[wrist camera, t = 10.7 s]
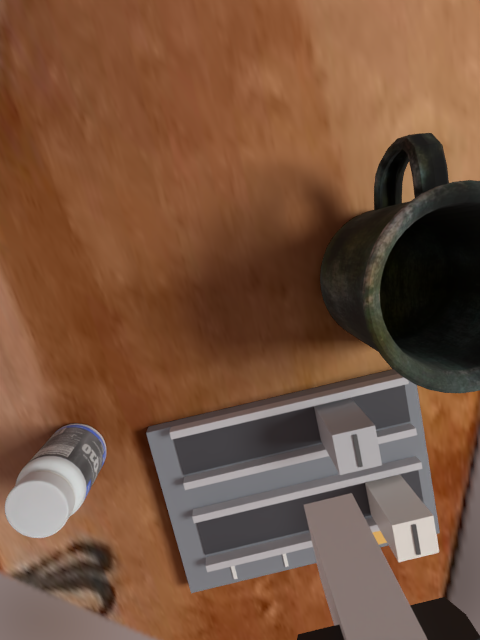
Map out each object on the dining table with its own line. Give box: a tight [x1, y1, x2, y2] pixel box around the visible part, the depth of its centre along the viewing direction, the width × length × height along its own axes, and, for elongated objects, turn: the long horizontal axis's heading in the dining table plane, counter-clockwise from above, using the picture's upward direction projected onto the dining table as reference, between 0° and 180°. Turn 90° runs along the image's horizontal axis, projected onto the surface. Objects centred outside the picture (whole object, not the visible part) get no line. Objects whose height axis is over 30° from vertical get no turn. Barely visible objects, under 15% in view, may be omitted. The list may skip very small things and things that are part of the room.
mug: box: [320, 133, 480, 393], centre depth 28 cm, size 11×15×12 cm
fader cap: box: [365, 475, 439, 562], centre depth 33 cm, size 3×3×6 cm
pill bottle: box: [5, 424, 106, 538], centre depth 31 cm, size 5×5×8 cm
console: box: [146, 369, 440, 593], centre depth 33 cm, size 15×22×7 cm
